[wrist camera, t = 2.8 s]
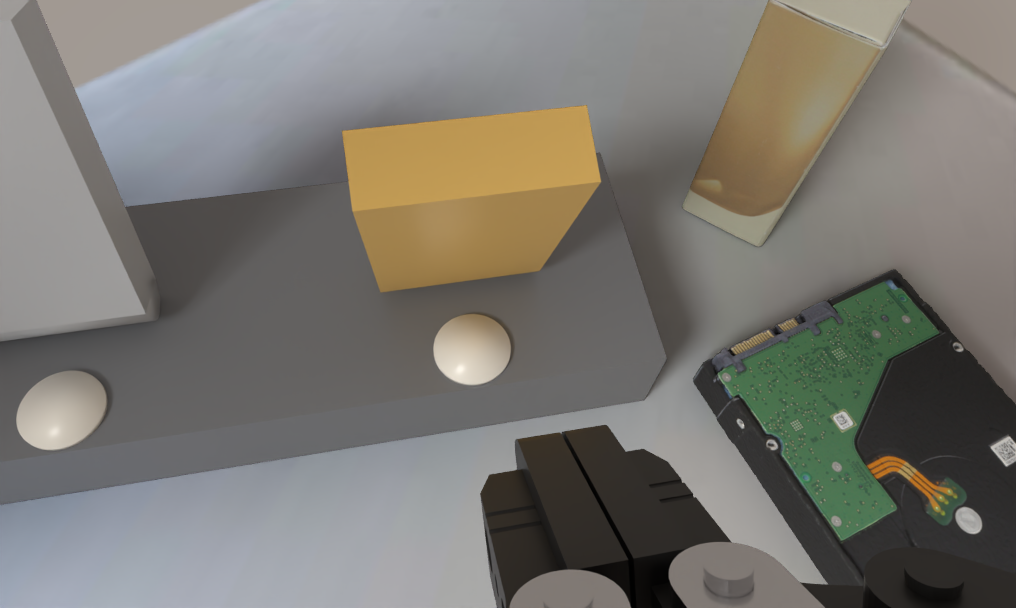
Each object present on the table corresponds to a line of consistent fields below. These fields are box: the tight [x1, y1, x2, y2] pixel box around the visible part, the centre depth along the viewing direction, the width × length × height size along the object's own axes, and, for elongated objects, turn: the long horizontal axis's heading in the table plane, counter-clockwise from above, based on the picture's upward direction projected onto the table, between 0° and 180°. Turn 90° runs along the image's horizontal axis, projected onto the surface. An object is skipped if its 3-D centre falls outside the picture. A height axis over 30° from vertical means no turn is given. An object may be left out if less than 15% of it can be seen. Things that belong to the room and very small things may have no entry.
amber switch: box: [342, 105, 601, 292], centre depth 23 cm, size 6×2×11 cm, turn 101°
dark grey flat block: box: [0, 153, 667, 505], centre depth 29 cm, size 28×10×4 cm, turn 101°
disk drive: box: [693, 270, 1016, 586], centre depth 28 cm, size 10×3×15 cm
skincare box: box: [682, 0, 912, 246], centre depth 31 cm, size 6×4×12 cm
